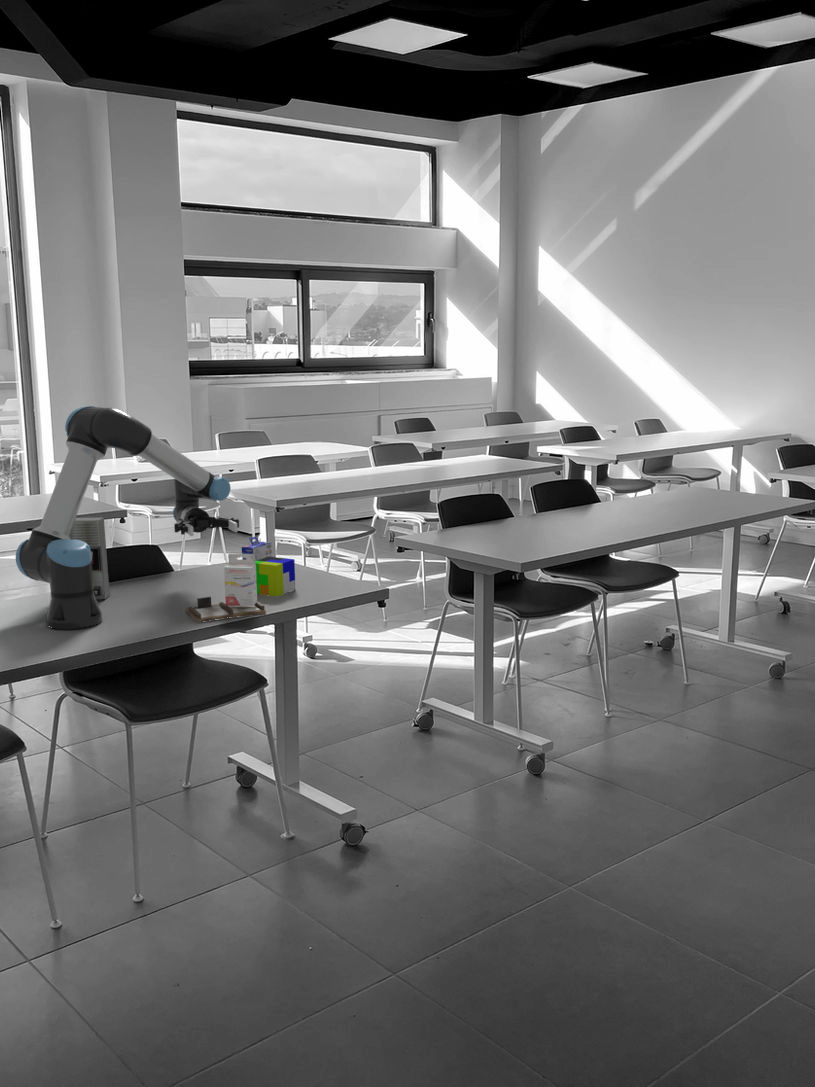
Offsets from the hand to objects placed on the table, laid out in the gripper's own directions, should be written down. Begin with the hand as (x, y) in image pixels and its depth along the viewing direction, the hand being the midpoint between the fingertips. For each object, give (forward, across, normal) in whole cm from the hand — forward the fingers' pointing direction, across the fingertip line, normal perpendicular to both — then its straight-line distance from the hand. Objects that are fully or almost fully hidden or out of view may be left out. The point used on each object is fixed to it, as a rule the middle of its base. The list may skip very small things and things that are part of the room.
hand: (214, 529), depth 318 cm
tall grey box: (-26, +35, -23) cm, 49 cm away
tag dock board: (+13, +1, -23) cm, 26 cm away
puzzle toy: (-4, -20, -22) cm, 30 cm away
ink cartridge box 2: (-21, -20, -22) cm, 37 cm away
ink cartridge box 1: (+14, -3, -21) cm, 25 cm away
